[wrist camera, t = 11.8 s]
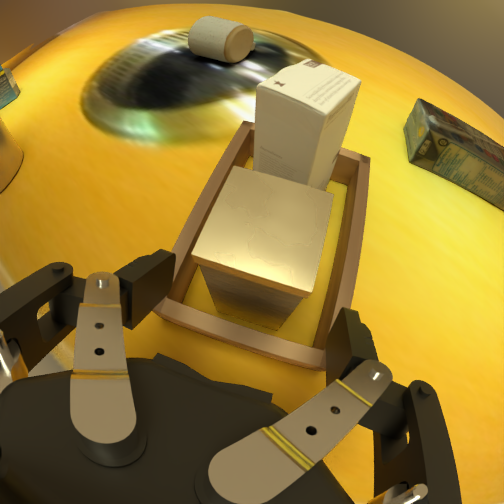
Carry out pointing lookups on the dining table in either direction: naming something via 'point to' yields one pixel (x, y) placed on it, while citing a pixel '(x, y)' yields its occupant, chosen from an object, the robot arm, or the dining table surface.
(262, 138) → the skincare box
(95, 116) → the dining table surface
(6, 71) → the label tape cartridge
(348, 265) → the crate
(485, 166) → the beverage carton
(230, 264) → the tea tin
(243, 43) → the ceramic mug
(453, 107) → the dining table surface
